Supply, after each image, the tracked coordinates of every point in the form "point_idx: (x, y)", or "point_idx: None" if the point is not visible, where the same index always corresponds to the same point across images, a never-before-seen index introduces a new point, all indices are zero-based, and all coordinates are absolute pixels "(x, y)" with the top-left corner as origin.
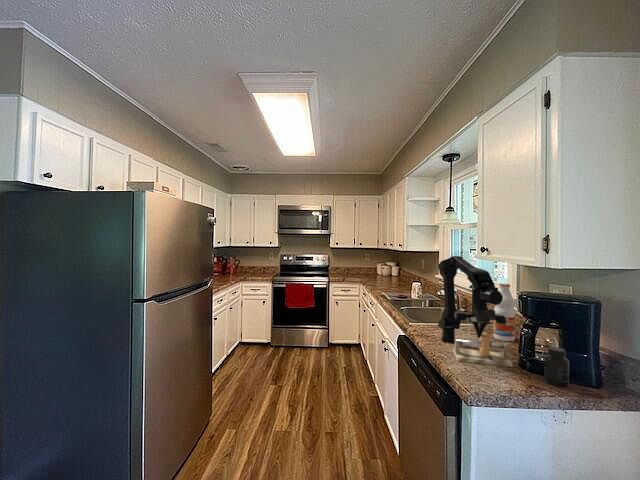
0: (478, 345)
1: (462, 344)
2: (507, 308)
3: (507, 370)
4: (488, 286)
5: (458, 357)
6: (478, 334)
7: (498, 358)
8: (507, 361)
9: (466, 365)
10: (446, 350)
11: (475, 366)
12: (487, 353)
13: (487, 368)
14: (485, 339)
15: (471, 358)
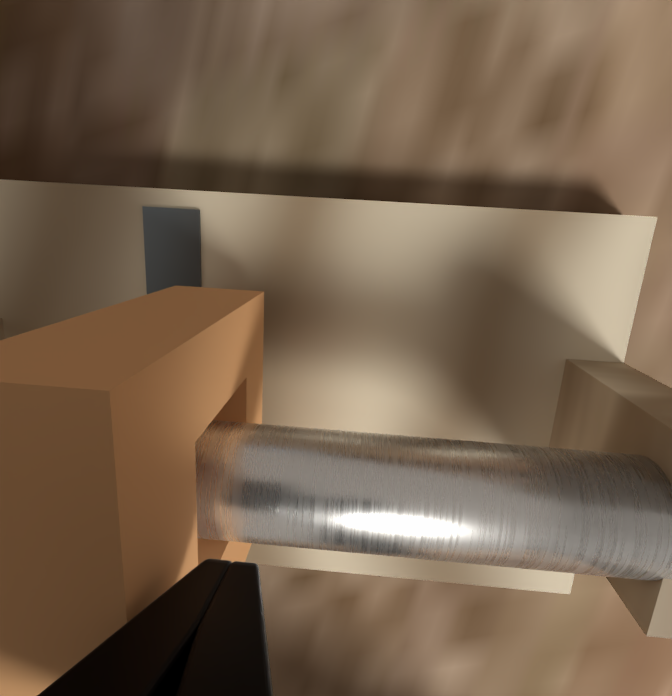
0: (294, 428)
1: (590, 451)
2: None
3: (52, 21)
4: None
5: (643, 218)
6: (231, 621)
7: (77, 315)
8: None
9: (556, 67)
10: None
11: (438, 61)
12: (195, 294)
13: (293, 23)
14: (96, 358)
15: (452, 220)
